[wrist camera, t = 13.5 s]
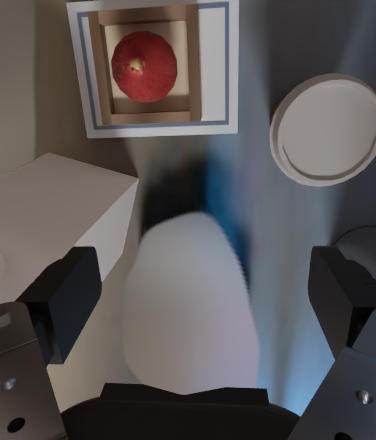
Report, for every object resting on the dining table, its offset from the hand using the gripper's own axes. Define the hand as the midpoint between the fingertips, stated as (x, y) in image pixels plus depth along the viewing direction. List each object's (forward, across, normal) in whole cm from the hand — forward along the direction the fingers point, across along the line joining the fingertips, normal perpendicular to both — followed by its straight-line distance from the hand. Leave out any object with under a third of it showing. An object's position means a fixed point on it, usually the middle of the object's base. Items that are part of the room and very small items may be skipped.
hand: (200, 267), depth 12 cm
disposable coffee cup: (+30, -10, -2) cm, 32 cm away
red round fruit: (+25, +6, -8) cm, 27 cm away
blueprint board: (+30, +6, -8) cm, 32 cm away
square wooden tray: (+29, +6, -8) cm, 31 cm away
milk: (+30, +17, +8) cm, 36 cm away
